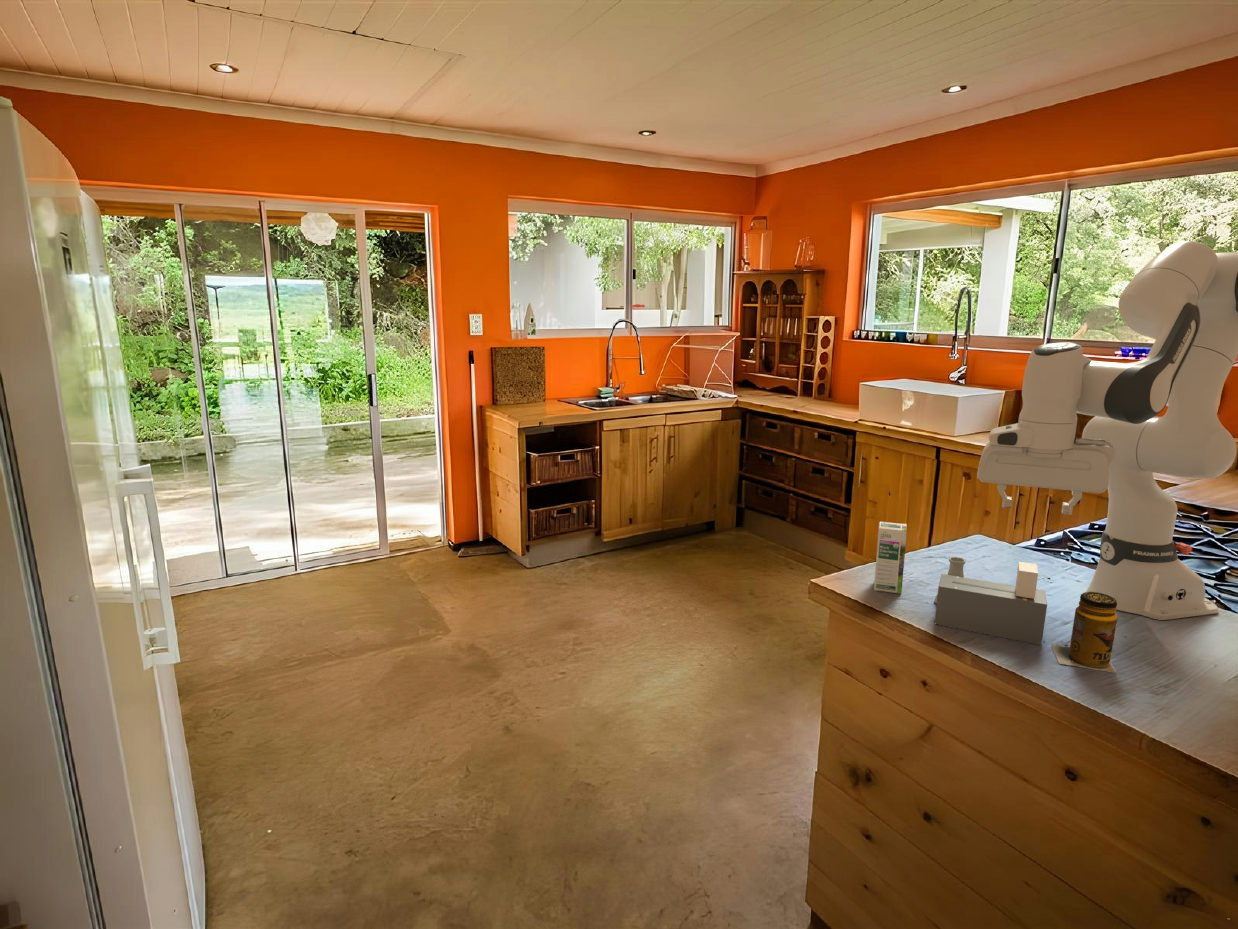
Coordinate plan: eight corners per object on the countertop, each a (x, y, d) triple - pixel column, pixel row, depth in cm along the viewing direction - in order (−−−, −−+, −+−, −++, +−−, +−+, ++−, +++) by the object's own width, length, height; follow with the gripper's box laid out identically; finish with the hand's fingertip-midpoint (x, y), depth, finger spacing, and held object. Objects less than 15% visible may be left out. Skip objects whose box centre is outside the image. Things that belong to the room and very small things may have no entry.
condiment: (1117, 673, 117) (1128, 608, 114) (1059, 664, 120) (1068, 600, 117) (1105, 653, 124) (1115, 591, 121) (1050, 645, 127) (1059, 584, 124)
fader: (1015, 595, 128) (1019, 570, 127) (1015, 586, 132) (1018, 561, 131) (1034, 598, 127) (1038, 573, 125) (1033, 589, 131) (1037, 564, 130)
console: (934, 624, 135) (938, 585, 133) (937, 610, 141) (941, 573, 139) (1041, 645, 127) (1047, 604, 125) (1039, 629, 133) (1045, 590, 131)
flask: (976, 613, 140) (981, 567, 138) (937, 610, 141) (942, 564, 139) (966, 598, 147) (971, 554, 144) (930, 595, 148) (934, 552, 146)
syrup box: (873, 590, 151) (878, 527, 148) (874, 581, 156) (879, 519, 153) (901, 594, 149) (907, 530, 146) (901, 584, 154) (907, 522, 151)
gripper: (1114, 437, 120) (1102, 512, 124) (982, 428, 130) (974, 499, 133) (1119, 443, 115) (1107, 522, 118) (981, 434, 125) (973, 508, 128)
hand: (1035, 510), depth 126 cm, fingers open, 8 cm apart
